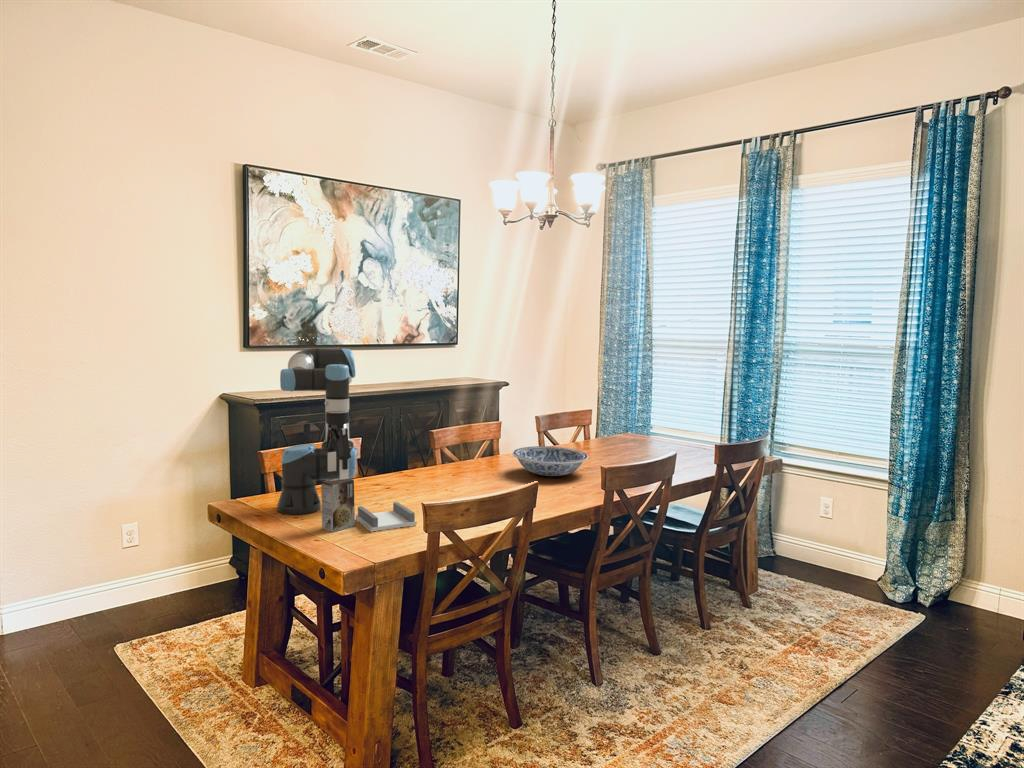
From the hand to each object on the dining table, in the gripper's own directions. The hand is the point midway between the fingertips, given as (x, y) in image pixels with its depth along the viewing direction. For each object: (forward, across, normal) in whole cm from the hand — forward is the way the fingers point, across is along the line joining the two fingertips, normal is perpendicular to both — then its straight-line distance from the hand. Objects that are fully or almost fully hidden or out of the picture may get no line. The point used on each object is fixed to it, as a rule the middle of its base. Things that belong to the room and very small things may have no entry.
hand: (337, 475), depth 234 cm
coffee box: (+18, 0, 0) cm, 18 cm away
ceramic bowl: (+18, -35, +108) cm, 115 cm away
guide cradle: (+18, +2, +16) cm, 24 cm away
